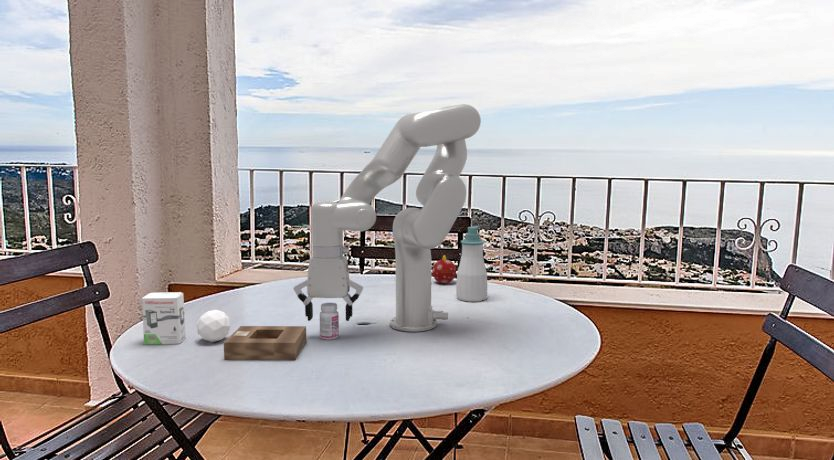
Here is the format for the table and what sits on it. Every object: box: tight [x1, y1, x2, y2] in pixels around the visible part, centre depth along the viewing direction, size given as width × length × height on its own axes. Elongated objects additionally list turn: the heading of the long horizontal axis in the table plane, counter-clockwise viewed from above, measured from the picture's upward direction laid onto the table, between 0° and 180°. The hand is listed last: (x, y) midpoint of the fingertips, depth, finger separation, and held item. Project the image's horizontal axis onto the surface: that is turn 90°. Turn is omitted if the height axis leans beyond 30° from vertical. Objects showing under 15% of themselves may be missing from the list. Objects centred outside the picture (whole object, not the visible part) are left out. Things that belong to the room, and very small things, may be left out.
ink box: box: [141, 291, 186, 345], centre depth 138 cm, size 9×5×12 cm, turn 94°
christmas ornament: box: [431, 254, 457, 284], centre depth 199 cm, size 9×9×10 cm
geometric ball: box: [196, 309, 232, 343], centre depth 139 cm, size 8×8×8 cm
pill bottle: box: [319, 302, 340, 341], centre depth 141 cm, size 5×5×8 cm
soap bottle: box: [455, 225, 488, 303], centre depth 178 cm, size 10×10×23 cm
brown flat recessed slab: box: [223, 325, 307, 361], centre depth 132 cm, size 16×12×4 cm
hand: (329, 319), depth 141 cm, fingers open, 9 cm apart
